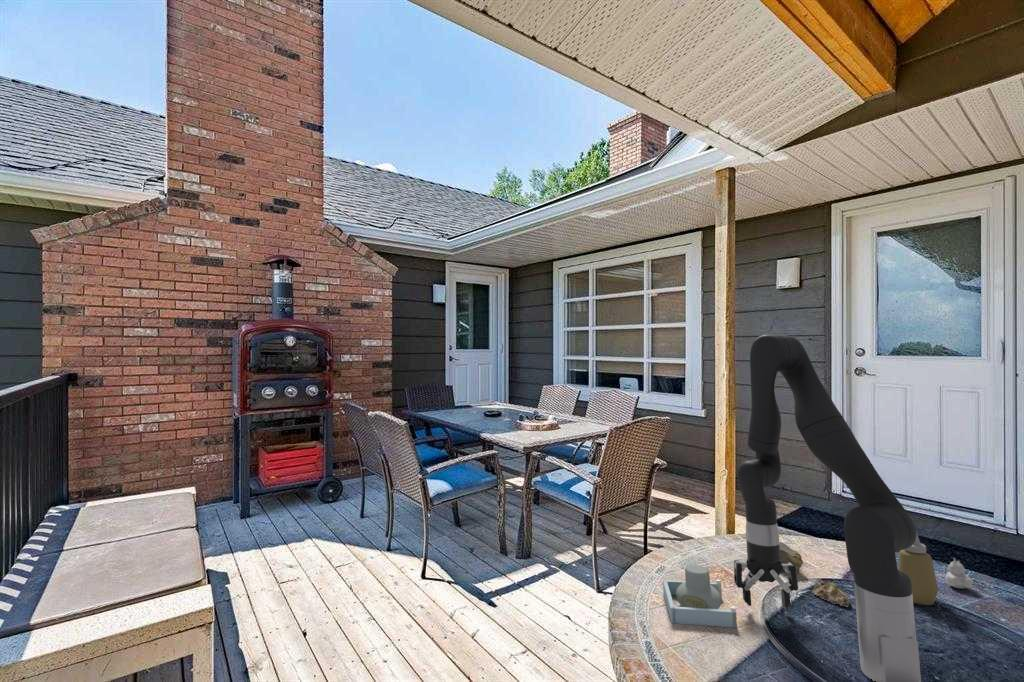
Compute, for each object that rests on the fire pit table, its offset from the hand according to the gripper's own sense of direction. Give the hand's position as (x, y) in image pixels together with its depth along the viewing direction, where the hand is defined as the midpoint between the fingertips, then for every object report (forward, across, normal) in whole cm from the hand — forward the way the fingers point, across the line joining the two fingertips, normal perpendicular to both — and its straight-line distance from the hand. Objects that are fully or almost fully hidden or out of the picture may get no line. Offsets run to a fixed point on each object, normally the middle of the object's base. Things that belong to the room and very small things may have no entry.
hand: (766, 605), depth 119 cm
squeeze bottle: (+2, +40, +12) cm, 42 cm away
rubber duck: (+2, +56, +21) cm, 59 cm away
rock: (+2, +14, +32) cm, 35 cm away
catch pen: (+2, -17, 0) cm, 17 cm away
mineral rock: (+2, +20, +11) cm, 22 cm away
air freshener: (+2, -16, 0) cm, 16 cm away
